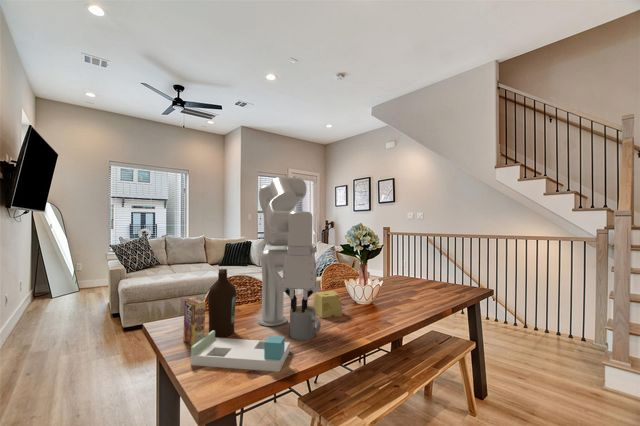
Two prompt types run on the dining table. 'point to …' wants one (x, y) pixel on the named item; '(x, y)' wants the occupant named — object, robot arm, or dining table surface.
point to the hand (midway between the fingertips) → (299, 310)
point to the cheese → (327, 304)
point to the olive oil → (222, 306)
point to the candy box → (194, 320)
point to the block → (274, 347)
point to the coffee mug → (303, 323)
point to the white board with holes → (234, 354)
